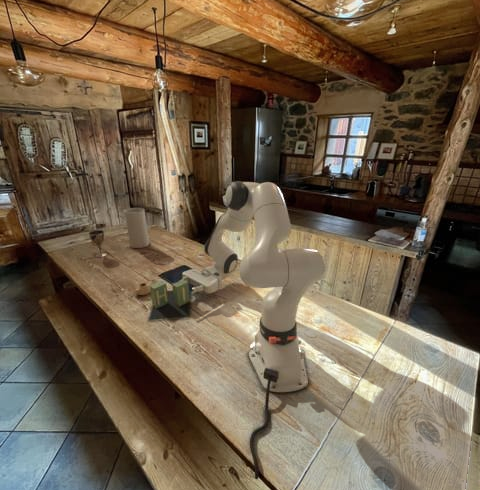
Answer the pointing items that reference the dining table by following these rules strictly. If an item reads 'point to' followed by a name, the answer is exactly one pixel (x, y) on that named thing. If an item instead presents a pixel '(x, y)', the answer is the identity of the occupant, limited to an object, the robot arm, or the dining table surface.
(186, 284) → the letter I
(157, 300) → the letter H
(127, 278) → the dining table surface
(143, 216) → the cylinder vase
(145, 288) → the pottery oil lamp
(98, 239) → the wine glass
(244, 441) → the dining table surface
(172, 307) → the word mat
